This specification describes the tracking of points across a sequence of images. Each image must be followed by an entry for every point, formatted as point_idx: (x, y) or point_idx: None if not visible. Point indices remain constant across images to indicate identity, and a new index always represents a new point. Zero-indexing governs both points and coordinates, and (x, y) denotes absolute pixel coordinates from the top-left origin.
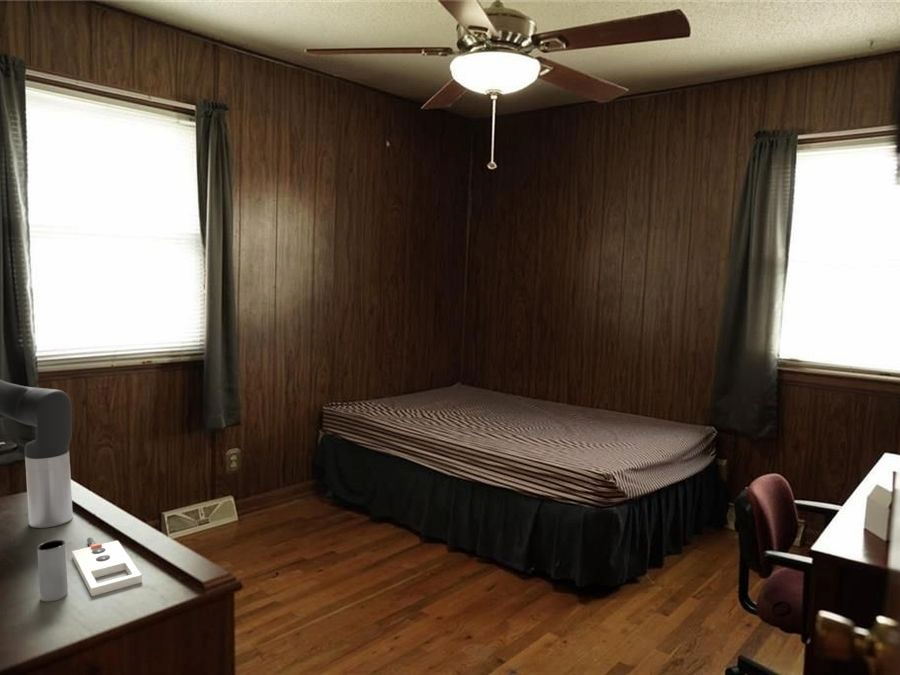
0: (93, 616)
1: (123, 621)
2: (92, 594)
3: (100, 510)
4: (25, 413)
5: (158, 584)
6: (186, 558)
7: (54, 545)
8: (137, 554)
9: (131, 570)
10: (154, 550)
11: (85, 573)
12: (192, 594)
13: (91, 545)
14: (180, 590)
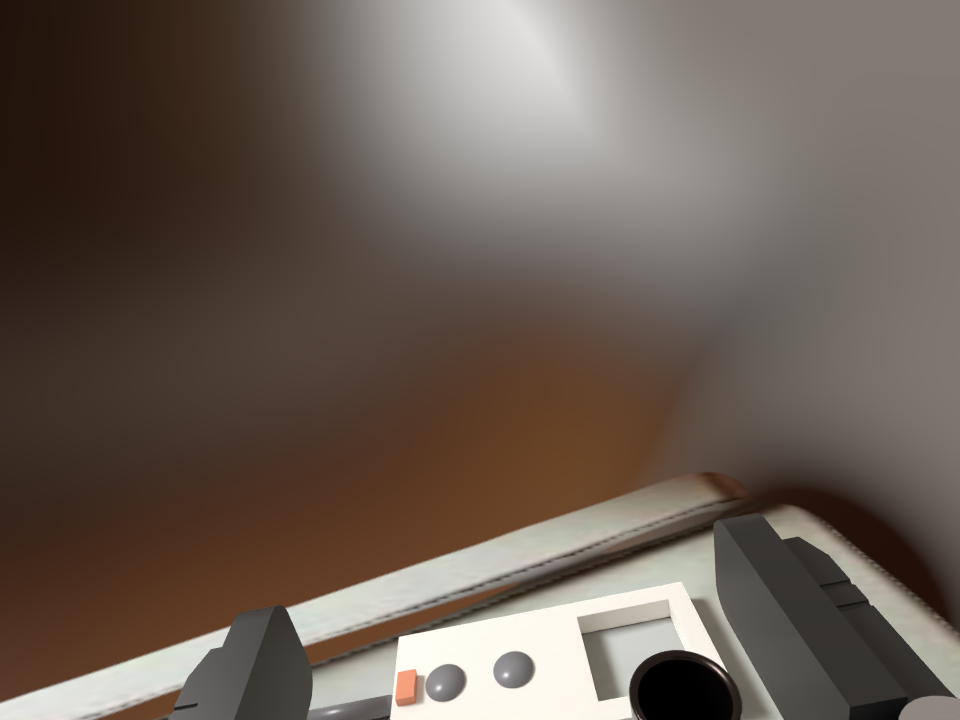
0: None
1: (935, 634)
2: None
3: (74, 702)
4: None
5: (708, 568)
6: (578, 523)
7: (641, 701)
8: (489, 610)
9: (641, 602)
10: (489, 577)
11: (608, 716)
12: (786, 513)
13: (403, 696)
14: None
